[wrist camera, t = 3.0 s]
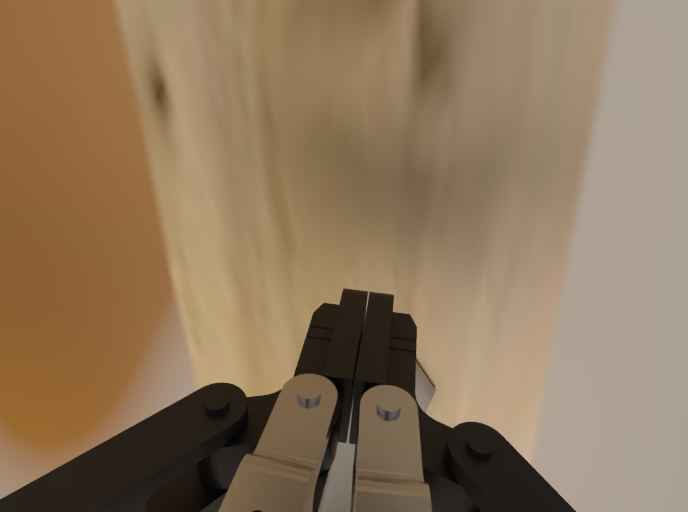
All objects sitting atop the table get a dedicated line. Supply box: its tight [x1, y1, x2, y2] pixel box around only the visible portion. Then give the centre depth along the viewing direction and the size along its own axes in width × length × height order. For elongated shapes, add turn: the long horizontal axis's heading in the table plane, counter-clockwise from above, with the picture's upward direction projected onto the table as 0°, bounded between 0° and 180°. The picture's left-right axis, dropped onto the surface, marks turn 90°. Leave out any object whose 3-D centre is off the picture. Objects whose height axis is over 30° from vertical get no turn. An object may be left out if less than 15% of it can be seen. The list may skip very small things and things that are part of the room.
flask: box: [321, 362, 435, 512], centre depth 23 cm, size 7×7×10 cm
